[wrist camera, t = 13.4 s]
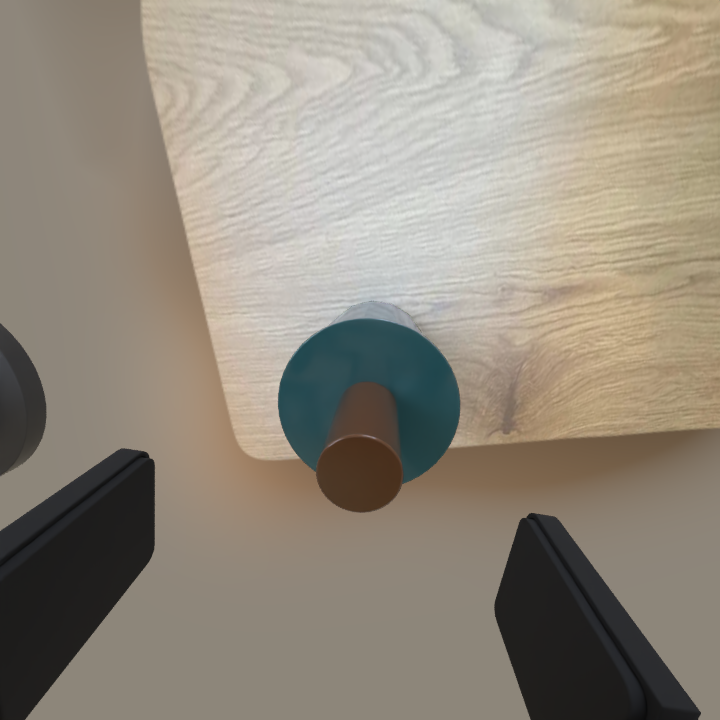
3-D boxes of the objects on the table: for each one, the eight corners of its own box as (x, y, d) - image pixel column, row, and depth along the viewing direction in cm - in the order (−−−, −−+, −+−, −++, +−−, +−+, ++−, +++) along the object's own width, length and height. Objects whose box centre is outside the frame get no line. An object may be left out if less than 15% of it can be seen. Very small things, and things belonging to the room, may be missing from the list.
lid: (276, 462, 19) (220, 561, 12) (292, 302, 16) (234, 321, 10) (436, 489, 18) (464, 605, 12) (473, 330, 16) (531, 368, 10)
